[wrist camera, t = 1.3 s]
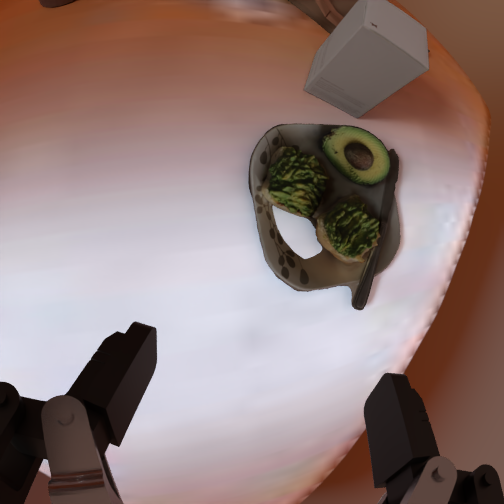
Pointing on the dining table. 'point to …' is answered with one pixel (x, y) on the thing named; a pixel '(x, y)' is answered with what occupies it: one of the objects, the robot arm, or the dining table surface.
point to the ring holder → (325, 11)
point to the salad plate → (327, 204)
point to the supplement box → (368, 57)
